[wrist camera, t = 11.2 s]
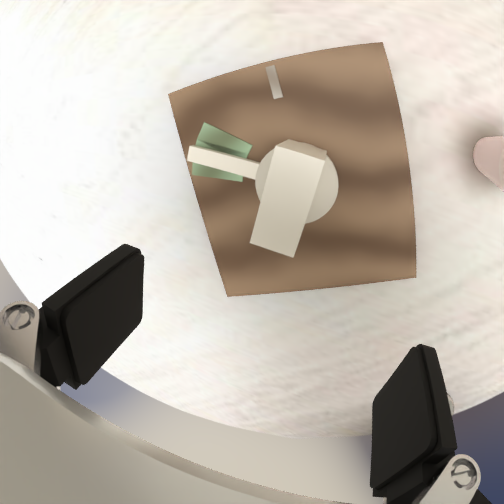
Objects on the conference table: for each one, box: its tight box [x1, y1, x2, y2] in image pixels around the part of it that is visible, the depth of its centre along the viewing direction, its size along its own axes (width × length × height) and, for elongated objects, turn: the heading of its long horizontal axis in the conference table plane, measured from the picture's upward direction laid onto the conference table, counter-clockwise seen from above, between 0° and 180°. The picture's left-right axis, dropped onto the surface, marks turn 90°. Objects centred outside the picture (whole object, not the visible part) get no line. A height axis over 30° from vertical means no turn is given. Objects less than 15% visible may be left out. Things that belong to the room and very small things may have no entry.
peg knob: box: [187, 139, 338, 258], centre depth 23 cm, size 14×7×7 cm, turn 76°
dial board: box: [168, 42, 416, 297], centre depth 27 cm, size 22×20×1 cm
